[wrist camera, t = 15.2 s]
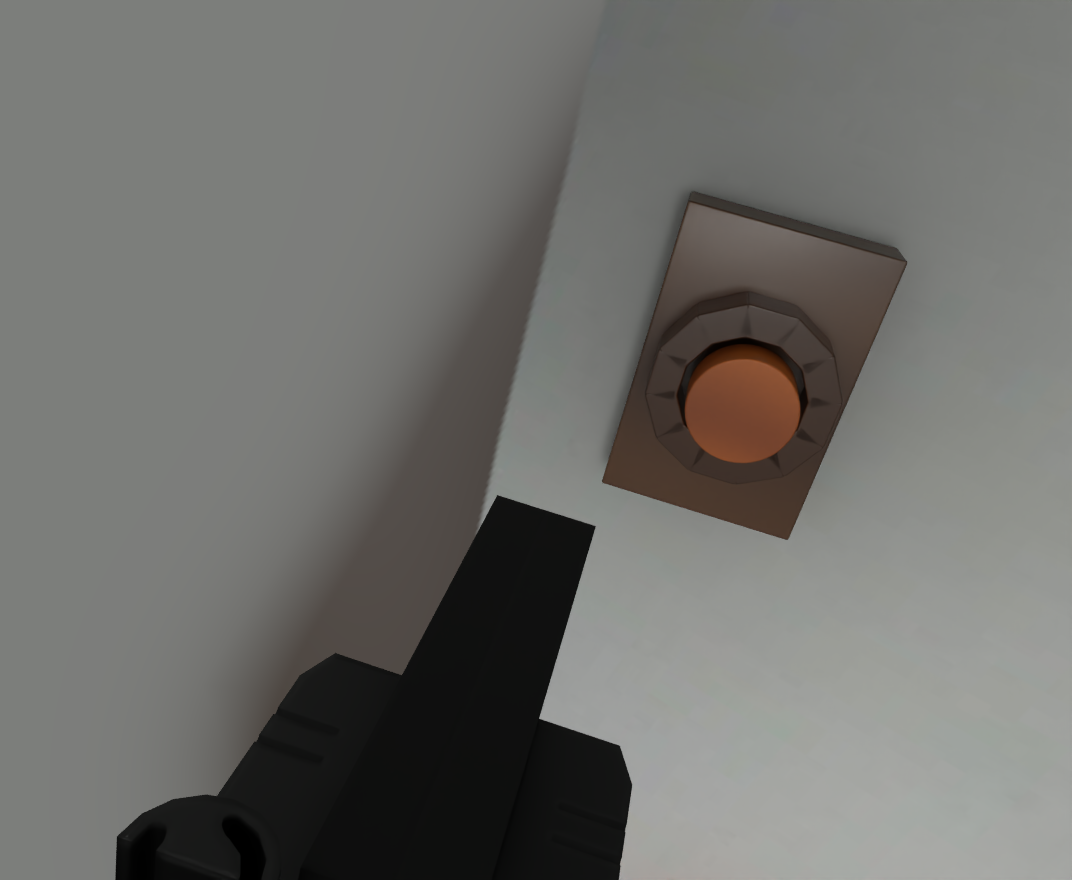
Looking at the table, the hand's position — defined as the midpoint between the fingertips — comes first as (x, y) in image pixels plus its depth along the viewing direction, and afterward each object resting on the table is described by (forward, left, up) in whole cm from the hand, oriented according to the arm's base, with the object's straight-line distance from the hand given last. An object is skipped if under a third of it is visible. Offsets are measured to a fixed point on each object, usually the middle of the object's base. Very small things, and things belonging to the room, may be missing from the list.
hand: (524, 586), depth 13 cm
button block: (+2, +6, -24) cm, 25 cm away
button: (+2, +6, -21) cm, 22 cm away
